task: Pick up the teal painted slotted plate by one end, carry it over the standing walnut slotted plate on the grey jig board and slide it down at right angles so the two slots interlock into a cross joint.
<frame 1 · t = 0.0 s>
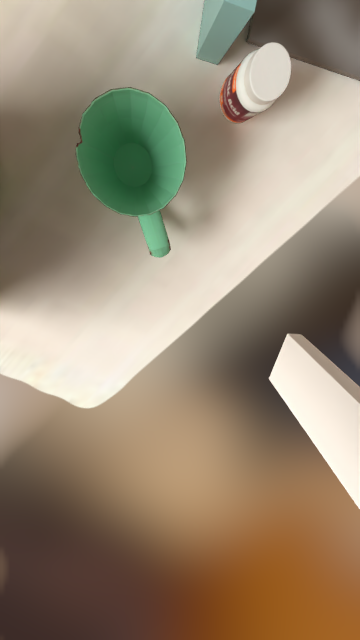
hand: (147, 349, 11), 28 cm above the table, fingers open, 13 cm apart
pill bottle: (237, 99, 30), on the table
mug: (139, 186, 33), on the table
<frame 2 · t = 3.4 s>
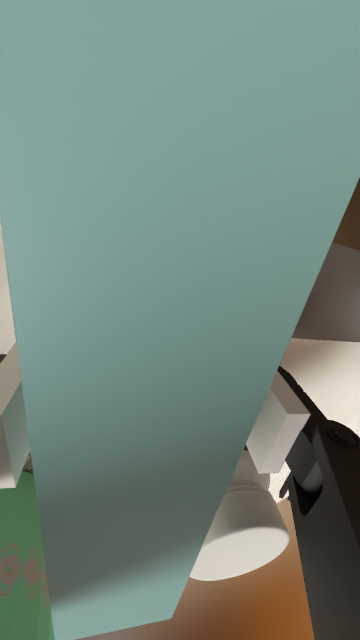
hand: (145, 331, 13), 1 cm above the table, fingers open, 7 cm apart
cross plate: (133, 230, 11), on the table
pill bottle: (188, 389, 17), on the table
mug: (26, 503, 19), on the table
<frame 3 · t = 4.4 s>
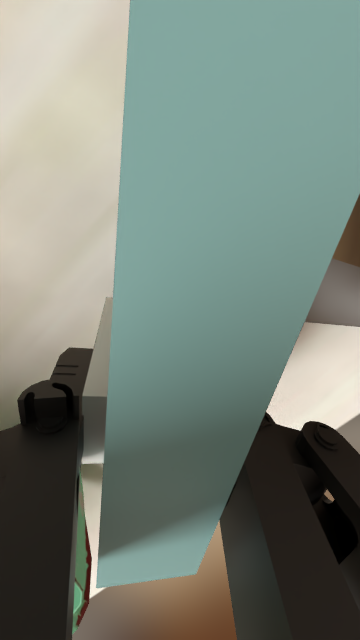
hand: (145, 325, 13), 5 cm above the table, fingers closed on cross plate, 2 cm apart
slotted stand: (355, 229, 18), on the table
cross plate: (154, 231, 12), point 4 cm above the table, touching gripper
mug: (58, 457, 23), on the table
when the fingers open (3 cm above the table, at t = 9.4 s): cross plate stays where it is, resting on slotted stand.
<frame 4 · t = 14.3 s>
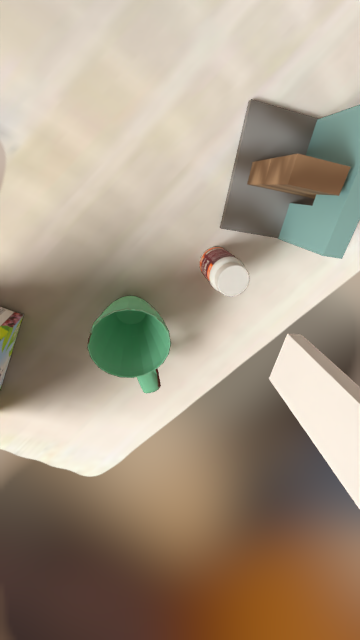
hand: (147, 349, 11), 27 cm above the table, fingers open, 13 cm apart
slotted stand: (301, 185, 35), on the table
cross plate: (304, 186, 34), point 1 cm above the table, touching slotted stand
pill bottle: (214, 262, 38), on the table
mug: (136, 322, 41), on the table
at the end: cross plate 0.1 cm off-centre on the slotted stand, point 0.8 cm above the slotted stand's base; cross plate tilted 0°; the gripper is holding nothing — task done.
